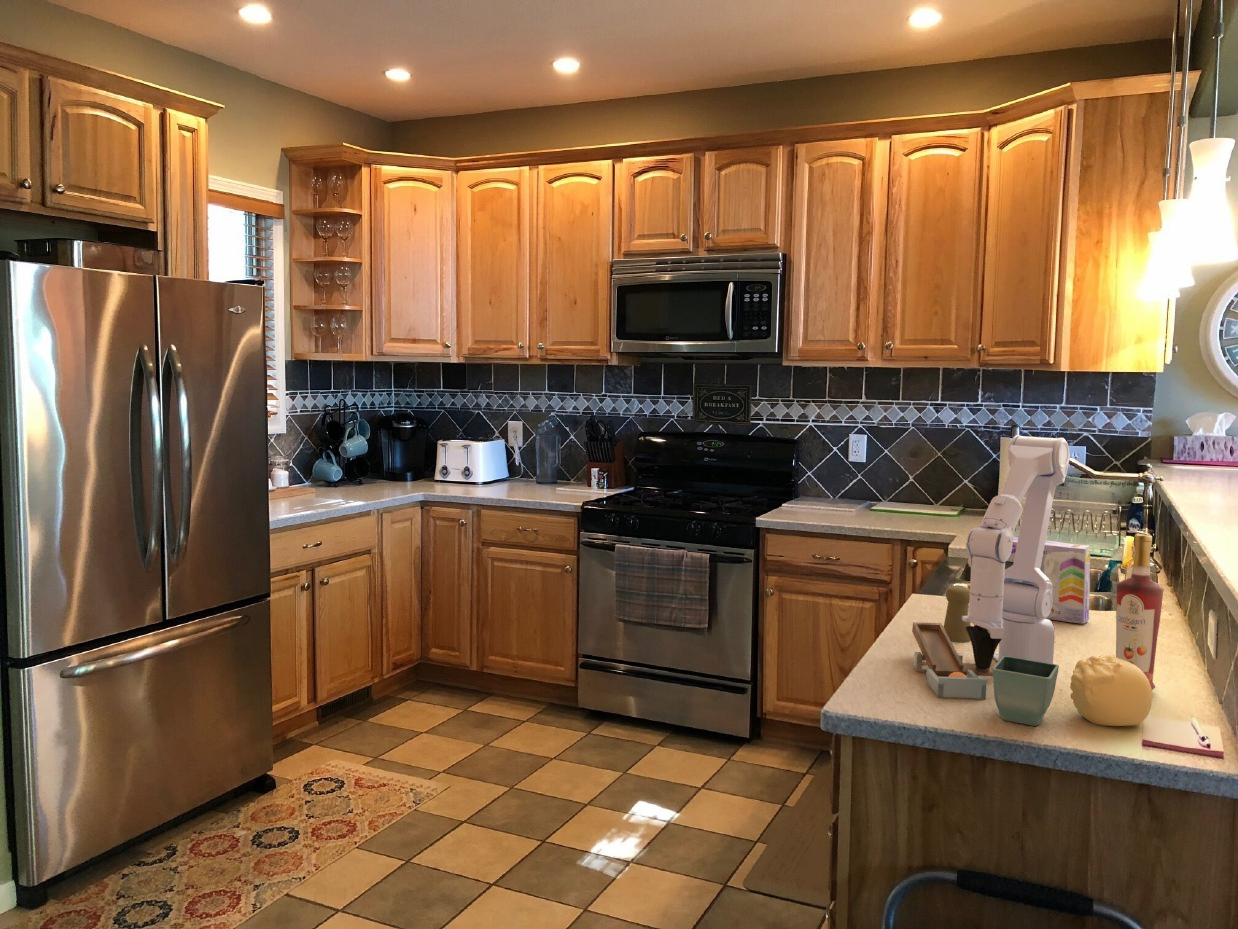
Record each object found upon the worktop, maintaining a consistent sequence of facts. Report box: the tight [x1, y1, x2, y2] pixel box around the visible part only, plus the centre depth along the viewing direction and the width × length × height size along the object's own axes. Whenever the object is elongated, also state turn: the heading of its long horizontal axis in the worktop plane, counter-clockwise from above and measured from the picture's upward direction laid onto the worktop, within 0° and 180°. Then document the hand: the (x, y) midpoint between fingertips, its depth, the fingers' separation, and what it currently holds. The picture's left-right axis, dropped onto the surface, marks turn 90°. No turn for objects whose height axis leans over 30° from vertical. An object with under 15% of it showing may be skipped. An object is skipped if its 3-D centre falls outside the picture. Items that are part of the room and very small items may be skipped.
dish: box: [925, 669, 988, 700], centre depth 175 cm, size 8×9×4 cm
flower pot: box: [992, 656, 1060, 727], centre depth 161 cm, size 9×9×9 cm
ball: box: [947, 672, 967, 678], centre depth 174 cm, size 4×4×4 cm
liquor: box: [1115, 533, 1164, 691], centre depth 176 cm, size 7×7×28 cm
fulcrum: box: [913, 651, 964, 673], centre depth 187 cm, size 8×2×3 cm, turn 87°
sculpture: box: [1069, 653, 1153, 727], centre depth 161 cm, size 11×12×11 cm
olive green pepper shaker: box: [943, 585, 972, 643], centre depth 209 cm, size 6×6×11 cm
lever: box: [912, 621, 993, 677], centre depth 188 cm, size 11×16×3 cm
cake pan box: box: [1005, 536, 1091, 625], centre depth 229 cm, size 19×5×18 cm, turn 49°
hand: (982, 667), depth 181 cm, fingers closed
